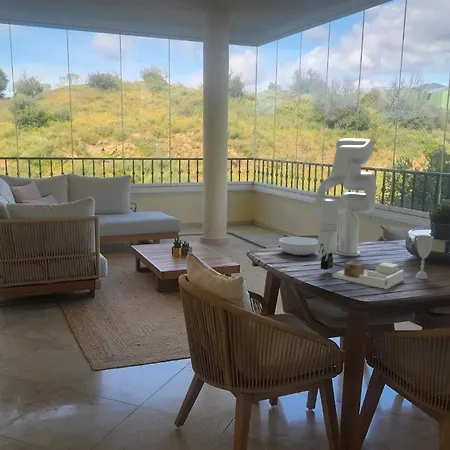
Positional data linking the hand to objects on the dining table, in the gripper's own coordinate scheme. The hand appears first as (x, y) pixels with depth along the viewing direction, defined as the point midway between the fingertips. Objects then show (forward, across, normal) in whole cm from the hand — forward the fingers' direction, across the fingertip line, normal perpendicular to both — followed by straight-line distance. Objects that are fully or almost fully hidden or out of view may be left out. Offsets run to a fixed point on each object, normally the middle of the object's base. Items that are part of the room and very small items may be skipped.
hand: (326, 267), depth 220 cm
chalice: (+2, -23, +34) cm, 41 cm away
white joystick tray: (+2, -4, +18) cm, 18 cm away
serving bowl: (+3, -23, -28) cm, 37 cm away
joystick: (0, 0, +7) cm, 7 cm away
